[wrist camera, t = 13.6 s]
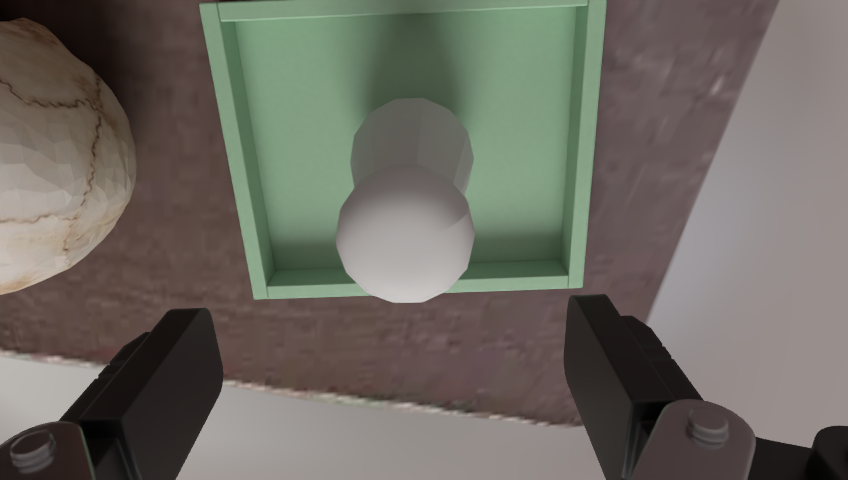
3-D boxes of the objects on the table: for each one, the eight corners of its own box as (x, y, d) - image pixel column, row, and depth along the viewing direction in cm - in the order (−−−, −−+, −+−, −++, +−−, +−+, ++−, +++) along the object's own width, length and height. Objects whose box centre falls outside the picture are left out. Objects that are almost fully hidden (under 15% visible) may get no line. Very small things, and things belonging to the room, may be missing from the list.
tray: (266, 277, 31) (253, 300, 29) (218, 3, 25) (197, 2, 23) (570, 266, 31) (582, 288, 29) (591, -13, 25) (608, -16, 23)
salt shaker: (455, 210, 29) (477, 351, 17) (350, 191, 28) (296, 322, 17) (480, 101, 27) (525, 175, 15) (366, 79, 26) (316, 136, 14)
